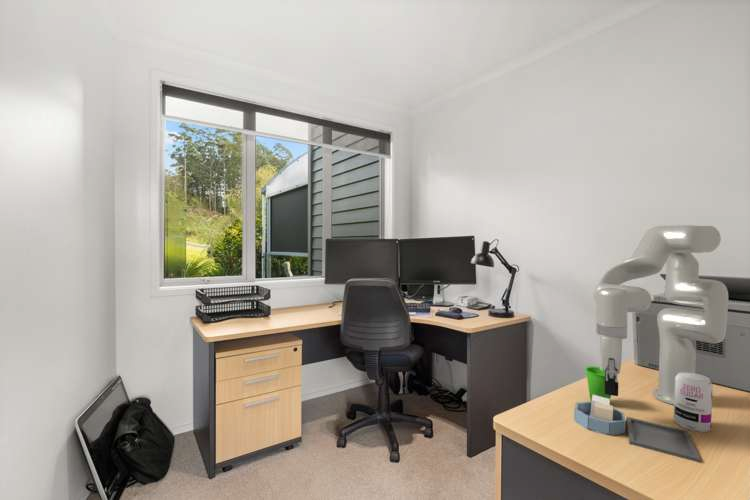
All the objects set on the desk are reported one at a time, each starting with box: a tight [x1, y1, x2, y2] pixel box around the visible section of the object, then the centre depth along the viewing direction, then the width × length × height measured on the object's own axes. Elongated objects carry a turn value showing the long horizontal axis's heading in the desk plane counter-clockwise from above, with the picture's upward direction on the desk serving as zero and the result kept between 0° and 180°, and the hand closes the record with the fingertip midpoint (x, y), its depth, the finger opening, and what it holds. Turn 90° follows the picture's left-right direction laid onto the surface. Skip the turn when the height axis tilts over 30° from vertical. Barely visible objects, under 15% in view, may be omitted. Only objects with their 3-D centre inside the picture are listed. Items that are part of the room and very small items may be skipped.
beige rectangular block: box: [594, 402, 614, 421], centre depth 102 cm, size 4×4×6 cm
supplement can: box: [673, 372, 713, 433], centre depth 104 cm, size 8×8×15 cm
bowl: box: [573, 400, 626, 436], centre depth 104 cm, size 12×12×4 cm
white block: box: [590, 395, 611, 418], centre depth 106 cm, size 4×4×6 cm
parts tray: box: [626, 416, 701, 463], centre depth 97 cm, size 16×14×1 cm
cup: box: [584, 365, 612, 402], centre depth 119 cm, size 9×9×11 cm
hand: (611, 388), depth 104 cm, fingers open, 9 cm apart
